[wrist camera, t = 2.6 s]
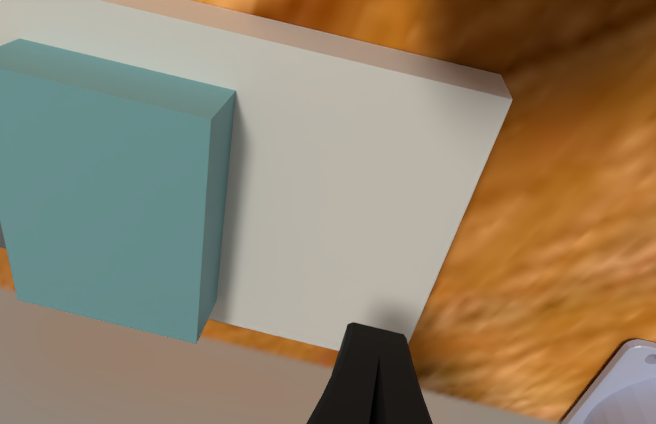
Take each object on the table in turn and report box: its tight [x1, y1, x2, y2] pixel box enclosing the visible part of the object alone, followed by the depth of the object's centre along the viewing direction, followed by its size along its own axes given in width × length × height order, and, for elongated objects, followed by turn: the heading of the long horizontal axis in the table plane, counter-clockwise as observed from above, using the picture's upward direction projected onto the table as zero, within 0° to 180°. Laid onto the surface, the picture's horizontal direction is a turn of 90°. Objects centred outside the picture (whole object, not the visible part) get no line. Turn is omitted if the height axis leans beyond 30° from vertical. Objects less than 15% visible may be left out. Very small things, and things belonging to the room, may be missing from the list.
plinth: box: [0, 0, 513, 351], centre depth 16 cm, size 14×10×2 cm
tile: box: [0, 38, 236, 344], centre depth 15 cm, size 6×8×2 cm
